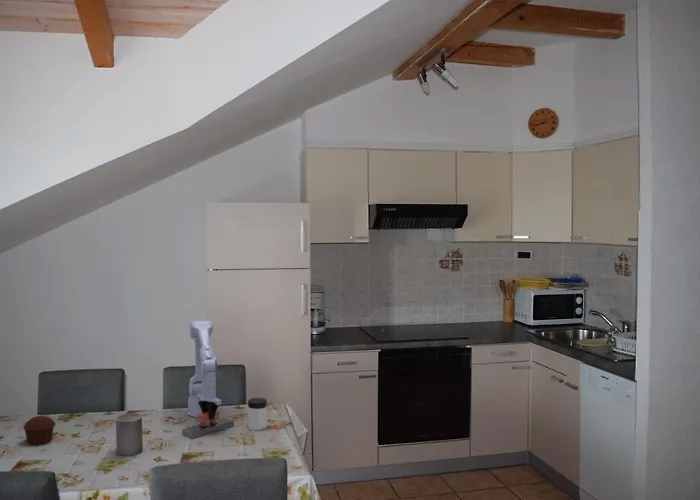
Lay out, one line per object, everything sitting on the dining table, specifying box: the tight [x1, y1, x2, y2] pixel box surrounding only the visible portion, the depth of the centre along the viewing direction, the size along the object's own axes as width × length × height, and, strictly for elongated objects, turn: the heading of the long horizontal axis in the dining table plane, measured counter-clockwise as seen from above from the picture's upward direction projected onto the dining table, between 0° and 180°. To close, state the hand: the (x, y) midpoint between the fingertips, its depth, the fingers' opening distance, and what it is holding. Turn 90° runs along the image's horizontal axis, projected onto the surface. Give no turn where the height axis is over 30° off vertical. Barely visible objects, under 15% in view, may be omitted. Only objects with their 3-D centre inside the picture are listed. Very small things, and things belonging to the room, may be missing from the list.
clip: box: [196, 410, 220, 427], centre depth 278 cm, size 4×9×5 cm, turn 140°
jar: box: [247, 397, 268, 431], centre depth 284 cm, size 9×8×12 cm
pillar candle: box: [115, 412, 144, 457], centre depth 253 cm, size 10×10×15 cm
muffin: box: [23, 415, 56, 446], centre depth 262 cm, size 12×11×10 cm
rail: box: [181, 416, 235, 440], centre depth 279 cm, size 7×22×2 cm, turn 140°
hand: (208, 418), depth 278 cm, fingers closed on clip, 3 cm apart
